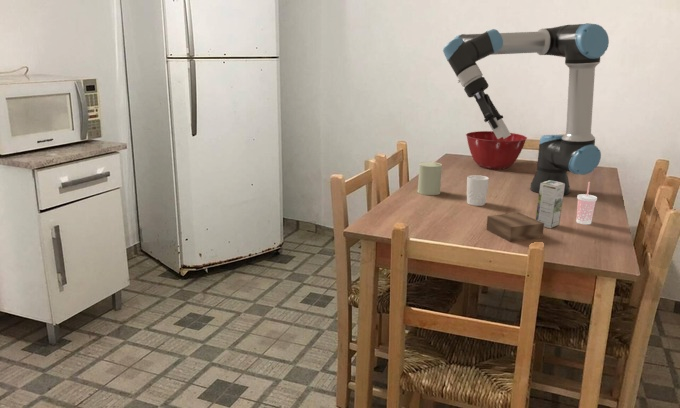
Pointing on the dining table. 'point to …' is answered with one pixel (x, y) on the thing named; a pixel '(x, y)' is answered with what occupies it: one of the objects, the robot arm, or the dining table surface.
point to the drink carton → (550, 203)
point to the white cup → (477, 189)
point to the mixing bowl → (494, 149)
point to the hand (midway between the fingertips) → (504, 137)
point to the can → (429, 178)
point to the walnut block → (515, 227)
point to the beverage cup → (585, 207)
